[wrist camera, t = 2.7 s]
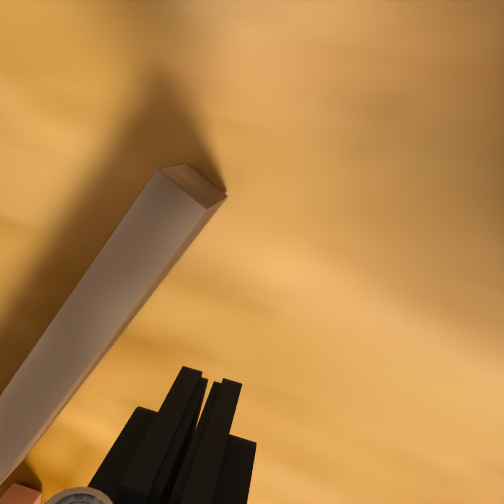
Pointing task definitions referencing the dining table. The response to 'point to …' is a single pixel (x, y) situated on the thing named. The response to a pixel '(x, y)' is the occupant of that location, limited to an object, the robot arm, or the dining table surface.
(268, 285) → the dining table surface
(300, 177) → the dining table surface
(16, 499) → the tab
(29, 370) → the tongs jaw
